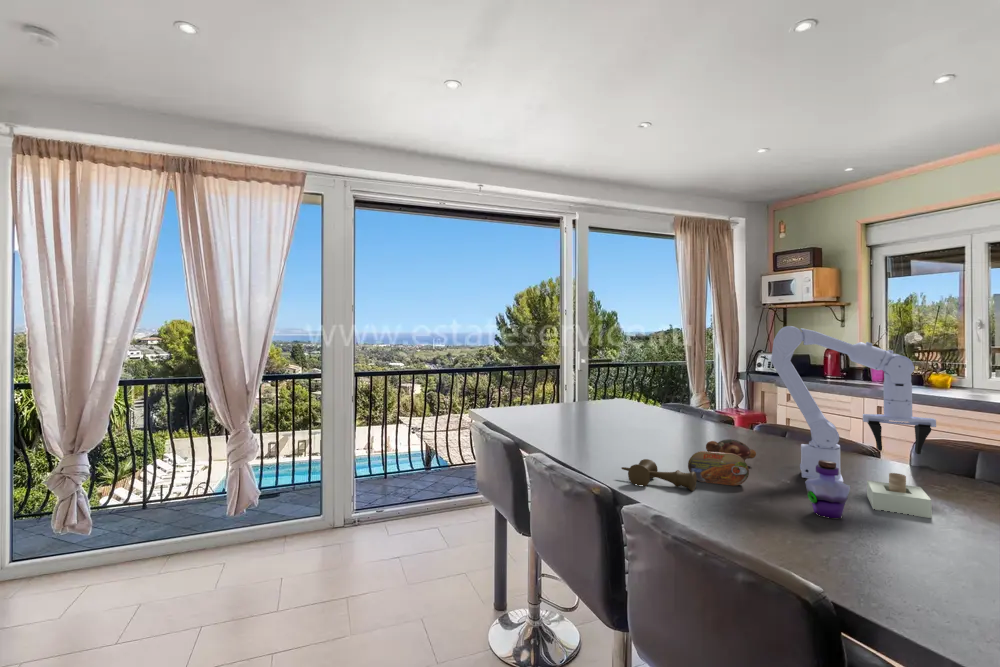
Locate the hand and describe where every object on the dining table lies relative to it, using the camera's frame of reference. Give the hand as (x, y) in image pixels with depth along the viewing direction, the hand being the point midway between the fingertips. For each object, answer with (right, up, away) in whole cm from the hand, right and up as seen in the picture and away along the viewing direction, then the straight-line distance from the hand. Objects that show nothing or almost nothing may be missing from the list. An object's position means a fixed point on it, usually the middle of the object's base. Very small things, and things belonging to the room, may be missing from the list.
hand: (898, 451), depth 121 cm
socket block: (-12, -9, -14) cm, 21 cm away
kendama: (-62, -11, +5) cm, 63 cm away
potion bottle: (-32, -10, -18) cm, 37 cm away
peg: (-12, -9, -14) cm, 20 cm away
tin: (-45, -10, +5) cm, 47 cm away
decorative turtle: (-34, -10, +22) cm, 41 cm away
